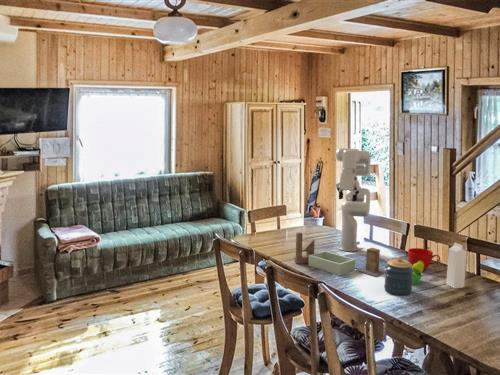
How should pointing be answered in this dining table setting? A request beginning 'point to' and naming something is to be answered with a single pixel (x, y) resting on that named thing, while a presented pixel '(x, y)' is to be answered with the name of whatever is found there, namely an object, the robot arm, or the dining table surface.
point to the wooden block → (303, 249)
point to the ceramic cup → (421, 256)
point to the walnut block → (372, 259)
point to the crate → (331, 262)
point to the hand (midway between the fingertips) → (347, 200)
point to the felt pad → (375, 274)
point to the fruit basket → (417, 272)
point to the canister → (398, 277)
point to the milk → (456, 266)
